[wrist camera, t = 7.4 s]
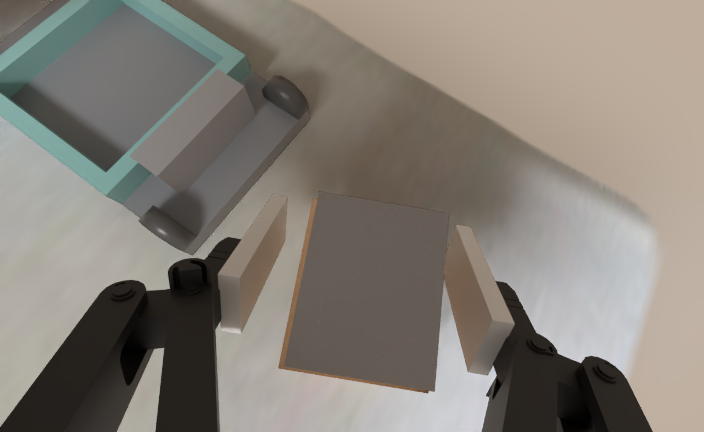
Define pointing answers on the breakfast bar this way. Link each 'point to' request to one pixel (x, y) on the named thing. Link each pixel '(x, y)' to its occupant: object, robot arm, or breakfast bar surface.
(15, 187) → the breakfast bar surface
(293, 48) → the breakfast bar surface
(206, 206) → the toy car chassis
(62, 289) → the breakfast bar surface
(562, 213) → the breakfast bar surface
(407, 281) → the grey block on wood
